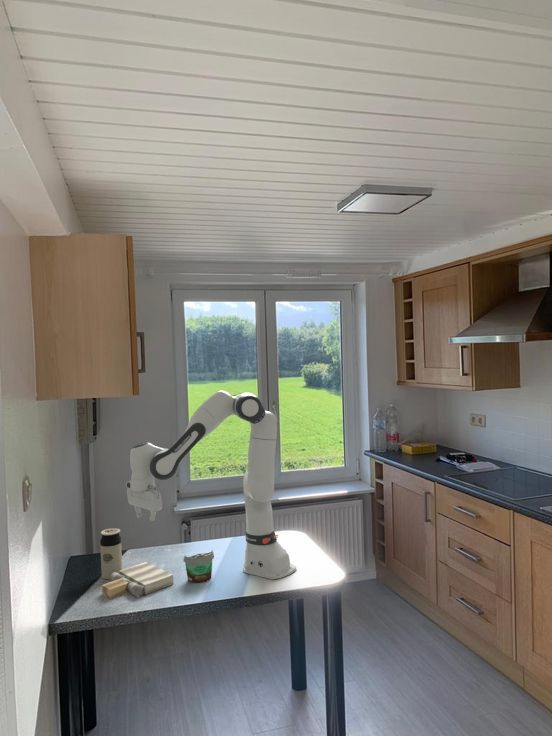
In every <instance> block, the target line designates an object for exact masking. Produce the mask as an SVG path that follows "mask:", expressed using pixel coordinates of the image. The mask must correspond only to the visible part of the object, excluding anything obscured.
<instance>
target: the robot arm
mask: <svg viewBox="0 0 552 736" xmlns="http://www.w3.org/2000/svg"><path fill="white" fill-rule="evenodd" d="M232 415H235V416H237V418H239V419H241V420H243V421H247V422H249V424H250V435H249V441H248V442H249V444H248V452H247V471H246V472H245V474H244V475H243V478H242V479H243V480H242V485H243V486H242V487H243V497H244V498H243V499H244V500H243V501H244V508H245V509H244V510H245V524H246V525H245V526H246V530H245V542H246V546H245V551H244V552H245V553H244V563H243V569H242V572H243V573H245V574H249V575H253V576H257V577H262V578H265V579H268V580H269V579H270V580H276V579H283V578H284V577H287V576H289V575H292V574H293V573H294V572H295V571H296V570H297V566H296V565H294V564H292V563H291V561H290V556H289V555H290V554H289V553H288V552H287V550H286V549H285V548H284V547H283V546H282V545H281V544H280V542H279V541H278V540H277V538H279V537H278V536H279V535H278V534H276V532H275V530H274V520H273V519H274V517H273V516H274V515H273V512H274V511H273V507H272V501H271V499H272V498H273V496H274V493H275V477H276V475H275V471H276V470H275V467H276V466H275V459H276V458H275V457H276V447H277V438H278V436H277V435H278V425H277V424H278V422H277V417H276V415H275V414H274V413H273V412H271V411H267V410H265V408H264V405H263V403H262V400H260V398H259V397H258V396H257V395H256V394H253V393H252V392H241V393H237V394H233V395H231V394H230V393H229V392H227V391H225V390H218V391H216V392H215V393H213V394H212V395H211V396H210V397H208V398H207V399H206V400H204V401H203V403H201V405H199V407H198V408H196V410H195V411H194V412H193V414H192V416H191V417H190V418H189V421H188V425H187V427H186V429H185V431H184V433H182V435H180V437H179V438H178V439H177V440H176V441H175V442H174V443H173V444H172V445H171V446H170V448H165V447H160V446H156V445H154V444H153V443H151V442H148V441H145V442H141V443H136V444H135V445H133V446H132V448H131V449H130V454H129V462H130V464H129V465H130V466H129V467H130V470H131V477H130V480H129V481H126V482H125V487H126V488H127V489H126V495H127V502H128V504H129V505H131V506H133V507H134V511H135V512H136V517H137V518H141V517H143V515H144V514H143V512H142V509H145V510H148V511H149V513H150V515H149V517H148V518H149V521H150V522H154V521H156V515H157V512H158V511H161V510H162V509H163V500H162V495H161V492H160V491H159V489H158V487H157V486H156V481H155V479H157V480H160V481H161V480H162V481H165V480H169V479H171V478H172V477H173V476H175V474H176V472H177V470H178V468H179V465H180V462H181V461H182V460H183V458H185V456H186V455H188V453H189V452H190V451H191V450H192V449H193V448H194V447H195V446H196V445H197V444H198V443H199V442H200V441H202V440H203V439H204V438H205V437H207V436H208V435H210V434H211V433H212V432H213V431H214V430H216V429H217V428H218V427H219V426H220V425H221V424H222V423H223V422H224V421H225V420H226V419H227V418H228V417H231V416H232Z"/></svg>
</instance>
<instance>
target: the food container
mask: <svg viewBox="0 0 552 736" xmlns="http://www.w3.org/2000/svg"><path fill="white" fill-rule="evenodd" d="M214 558H215V553H214V550H211V551H209V552H206V553H197V554H194V555H192V556H191V555H190V556H186V555H184V557H183V562H184V563H185V570H186V577H187V582H188V583H193V584H202V583H206V582H209V581H210V580H211V579H212V571H213V570H212V569H213V559H214Z"/></svg>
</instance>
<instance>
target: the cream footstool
mask: <svg viewBox="0 0 552 736" xmlns="http://www.w3.org/2000/svg"><path fill="white" fill-rule="evenodd" d="M123 577H124V578H126V579H128V580H130V581H132V582H131V583H130V584H129V585H128V587H127V590H128V592H127V593H130V594H132V595H133V596H135V597H136V598H140V597H142V596H143V595H148V593H149V594H151V593H153V592H156V591H159V590H161V589H164V588H167V587H169V586H172V585H174V574H173V573H170V572H169V571H166V570H164V569H162V568H160V567H158V566H156V565H154V564H153V563H150V562H147V561H144V562H142V563H138V564H135V565H132V566H129V567H127V568H124V569H123V568H122V570H120V571H119V572H118V573H116V572H113V573H112V574H111V575H110V577H109V579H108V580H109V581H110V582H112V581H115V580H118V579H121V578H123Z"/></svg>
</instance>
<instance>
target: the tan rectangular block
mask: <svg viewBox="0 0 552 736" xmlns="http://www.w3.org/2000/svg"><path fill="white" fill-rule="evenodd" d="M131 582H132V581H130V580H128V579H126V578H124V577H123V578H121V579H118V580H115V581H112V582H111V581H110V582H106V583H104V584H102V585H101V594H102V595H103V596H104V597H106V598H107V599H110V600H111V599H114V598H117V597H120V596H122V595H124V594H127V593H129V592H128V590H127V587H128V585H129V584H130V583H131Z"/></svg>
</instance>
